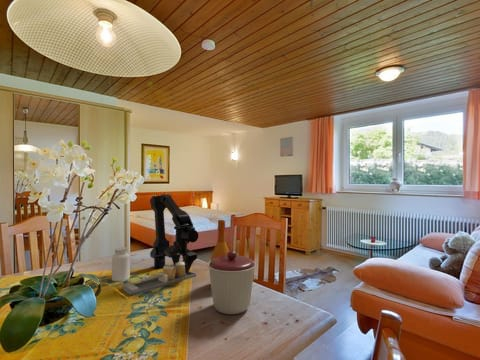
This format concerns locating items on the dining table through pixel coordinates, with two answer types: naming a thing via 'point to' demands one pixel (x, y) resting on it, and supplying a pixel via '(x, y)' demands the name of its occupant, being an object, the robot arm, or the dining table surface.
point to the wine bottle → (220, 242)
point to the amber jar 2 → (180, 270)
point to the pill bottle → (120, 264)
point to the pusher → (161, 277)
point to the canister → (231, 282)
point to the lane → (151, 284)
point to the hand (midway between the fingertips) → (181, 271)
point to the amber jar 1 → (169, 271)
